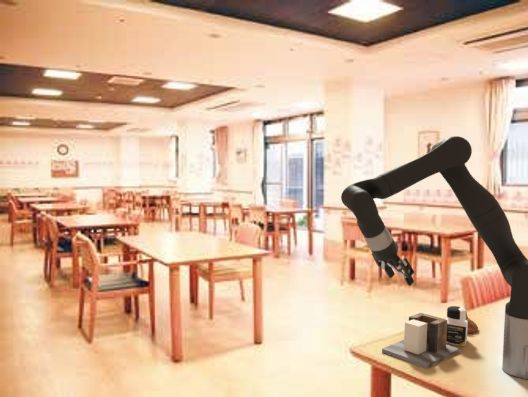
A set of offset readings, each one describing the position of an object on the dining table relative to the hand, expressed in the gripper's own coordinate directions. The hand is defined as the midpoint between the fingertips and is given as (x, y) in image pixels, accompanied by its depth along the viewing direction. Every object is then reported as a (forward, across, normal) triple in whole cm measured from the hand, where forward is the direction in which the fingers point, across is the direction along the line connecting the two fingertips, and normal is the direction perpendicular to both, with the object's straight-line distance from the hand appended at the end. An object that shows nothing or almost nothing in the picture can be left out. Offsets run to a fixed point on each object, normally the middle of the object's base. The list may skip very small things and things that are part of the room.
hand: (401, 279), depth 149 cm
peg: (+22, -3, +10) cm, 24 cm away
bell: (+45, +8, -16) cm, 49 cm away
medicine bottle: (+36, 0, -6) cm, 37 cm away
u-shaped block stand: (+25, -2, +8) cm, 26 cm away
